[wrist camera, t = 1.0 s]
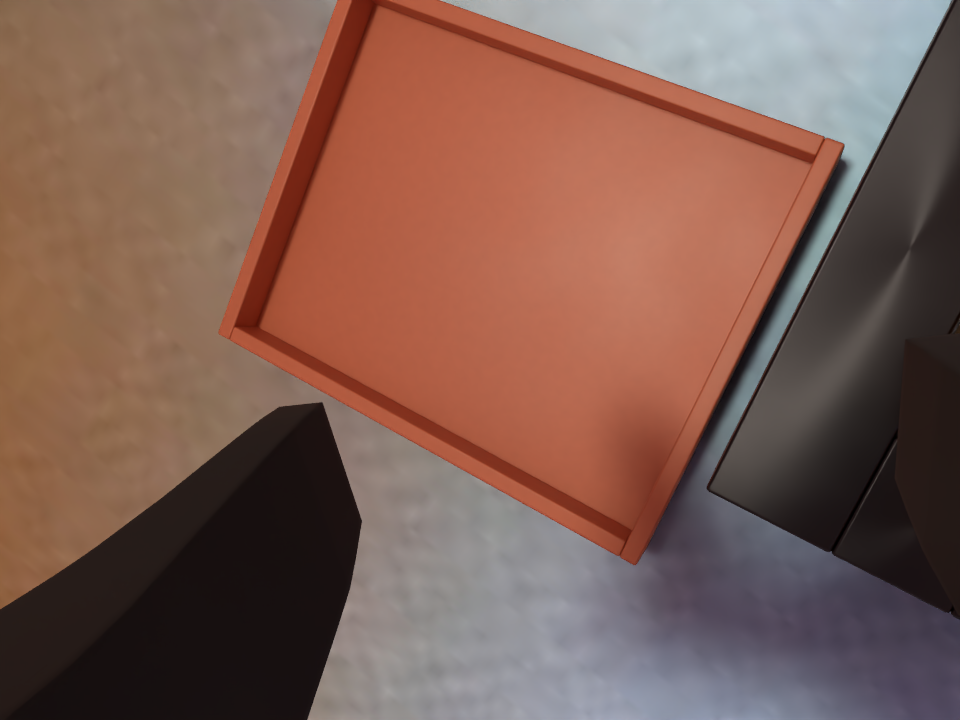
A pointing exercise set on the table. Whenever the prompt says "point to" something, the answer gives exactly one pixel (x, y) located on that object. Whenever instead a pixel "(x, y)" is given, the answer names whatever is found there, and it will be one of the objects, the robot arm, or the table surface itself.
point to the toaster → (863, 347)
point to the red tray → (522, 255)
